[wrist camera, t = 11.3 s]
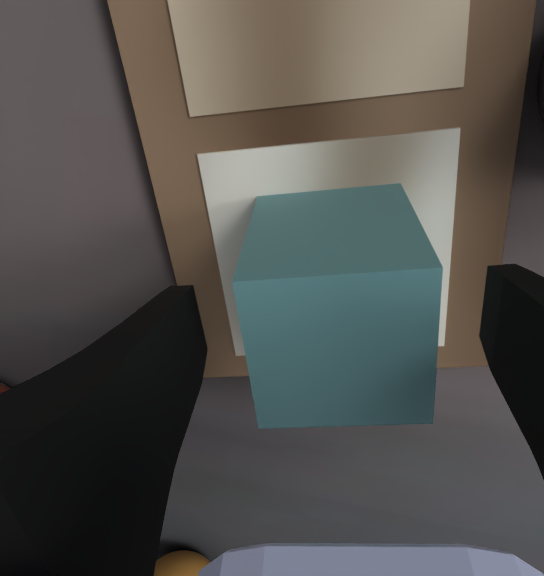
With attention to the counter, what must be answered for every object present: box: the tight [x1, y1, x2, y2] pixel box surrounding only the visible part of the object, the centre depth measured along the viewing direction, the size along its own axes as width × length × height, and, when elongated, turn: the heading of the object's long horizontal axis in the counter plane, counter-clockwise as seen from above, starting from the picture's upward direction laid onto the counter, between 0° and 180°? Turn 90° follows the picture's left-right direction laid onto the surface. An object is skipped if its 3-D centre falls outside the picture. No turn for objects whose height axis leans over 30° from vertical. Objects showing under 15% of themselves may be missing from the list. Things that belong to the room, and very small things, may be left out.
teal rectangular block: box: [232, 183, 443, 429], centre depth 12 cm, size 4×4×5 cm
